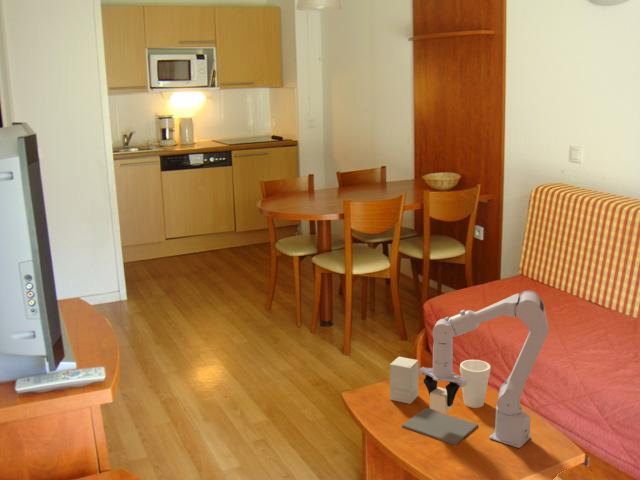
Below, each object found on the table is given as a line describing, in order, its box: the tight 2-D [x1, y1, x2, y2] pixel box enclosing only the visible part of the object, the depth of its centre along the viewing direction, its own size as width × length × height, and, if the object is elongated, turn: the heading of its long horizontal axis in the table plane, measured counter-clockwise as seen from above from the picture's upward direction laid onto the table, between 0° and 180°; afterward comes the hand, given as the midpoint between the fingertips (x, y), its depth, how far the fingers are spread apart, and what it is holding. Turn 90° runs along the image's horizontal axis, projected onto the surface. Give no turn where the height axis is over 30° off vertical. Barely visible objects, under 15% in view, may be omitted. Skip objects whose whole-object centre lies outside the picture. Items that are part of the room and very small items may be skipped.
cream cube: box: [429, 386, 454, 414], centre depth 218 cm, size 5×5×5 cm
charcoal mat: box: [401, 407, 479, 446], centre depth 221 cm, size 18×14×1 cm
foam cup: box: [459, 359, 491, 409], centre depth 234 cm, size 10×9×13 cm
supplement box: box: [389, 356, 420, 405], centre depth 239 cm, size 7×7×13 cm
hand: (441, 402), depth 218 cm, fingers closed on cream cube, 5 cm apart
